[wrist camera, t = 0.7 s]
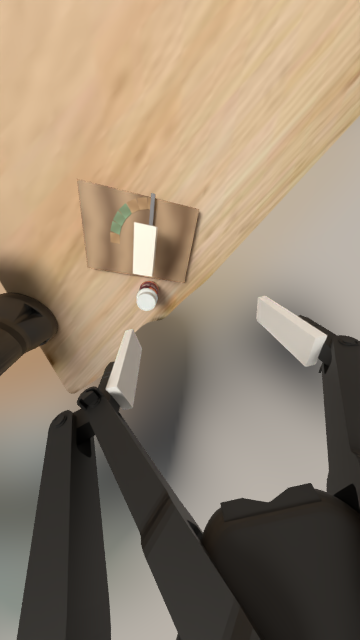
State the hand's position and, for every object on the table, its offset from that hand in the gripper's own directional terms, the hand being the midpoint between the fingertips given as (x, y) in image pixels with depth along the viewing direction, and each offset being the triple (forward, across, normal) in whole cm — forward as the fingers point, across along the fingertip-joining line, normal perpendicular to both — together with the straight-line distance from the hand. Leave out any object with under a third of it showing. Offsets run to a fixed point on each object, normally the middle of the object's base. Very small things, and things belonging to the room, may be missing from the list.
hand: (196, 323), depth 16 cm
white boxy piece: (+23, -3, +9) cm, 25 cm away
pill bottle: (+26, -8, -3) cm, 27 cm away
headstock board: (+25, -6, +8) cm, 27 cm away
